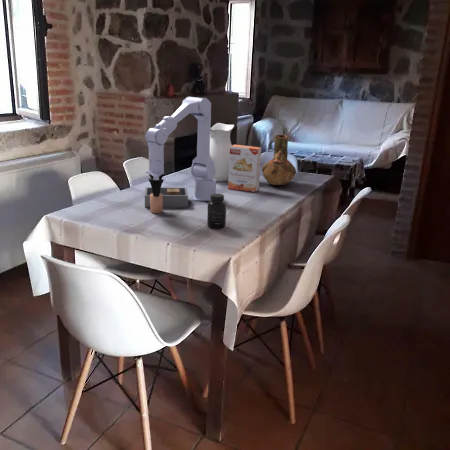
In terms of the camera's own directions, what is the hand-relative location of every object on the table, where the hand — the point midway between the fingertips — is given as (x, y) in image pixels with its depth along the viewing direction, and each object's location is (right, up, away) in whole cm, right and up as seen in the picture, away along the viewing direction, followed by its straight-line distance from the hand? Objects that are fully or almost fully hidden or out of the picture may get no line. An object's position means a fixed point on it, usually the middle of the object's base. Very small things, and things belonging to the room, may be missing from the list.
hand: (156, 193), depth 190 cm
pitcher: (+22, +11, +57) cm, 62 cm away
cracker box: (+36, +4, +41) cm, 55 cm away
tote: (+2, -3, +15) cm, 15 cm away
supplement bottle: (+24, -13, -12) cm, 30 cm away
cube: (+5, -2, +15) cm, 16 cm away
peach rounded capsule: (0, -7, +2) cm, 7 cm away
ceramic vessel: (+54, +7, +52) cm, 75 cm away
